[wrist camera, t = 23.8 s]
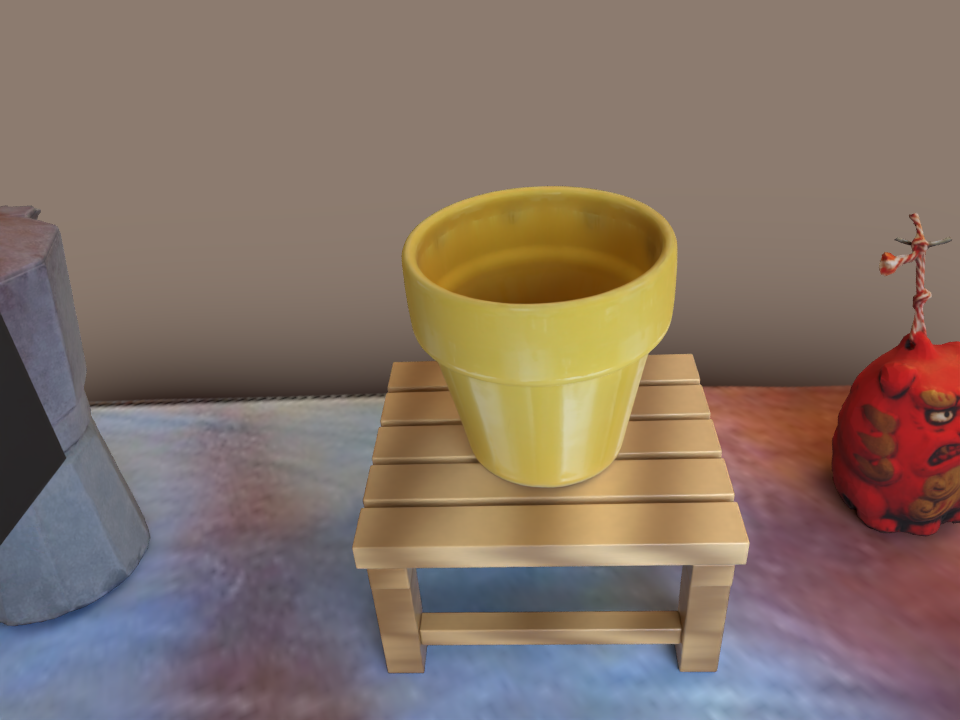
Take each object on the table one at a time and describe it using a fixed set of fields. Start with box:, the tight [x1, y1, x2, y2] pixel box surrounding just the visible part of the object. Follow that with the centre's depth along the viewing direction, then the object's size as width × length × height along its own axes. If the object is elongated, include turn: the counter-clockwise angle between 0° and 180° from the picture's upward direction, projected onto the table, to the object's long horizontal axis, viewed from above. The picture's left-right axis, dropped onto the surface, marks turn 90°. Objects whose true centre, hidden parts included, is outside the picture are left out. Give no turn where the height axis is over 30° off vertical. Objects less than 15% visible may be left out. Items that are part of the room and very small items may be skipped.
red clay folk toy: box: [832, 213, 960, 536], centre depth 39 cm, size 8×7×15 cm
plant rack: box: [352, 354, 749, 673], centre depth 39 cm, size 15×13×8 cm
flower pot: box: [402, 186, 677, 488], centre depth 34 cm, size 10×10×10 cm
